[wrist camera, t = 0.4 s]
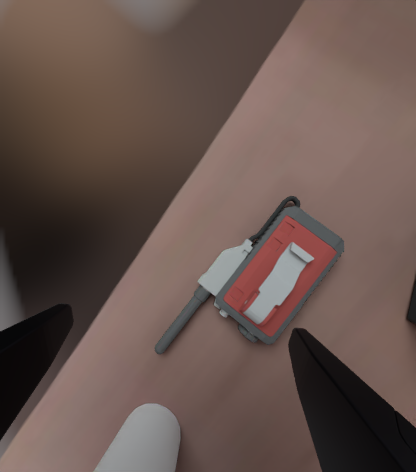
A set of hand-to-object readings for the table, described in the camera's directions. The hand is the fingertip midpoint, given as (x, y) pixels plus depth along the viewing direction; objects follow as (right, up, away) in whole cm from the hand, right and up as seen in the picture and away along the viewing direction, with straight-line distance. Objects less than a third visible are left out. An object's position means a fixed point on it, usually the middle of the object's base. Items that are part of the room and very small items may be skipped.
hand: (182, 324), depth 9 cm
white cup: (-4, -16, +13) cm, 21 cm away
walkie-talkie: (+5, -2, +14) cm, 15 cm away
